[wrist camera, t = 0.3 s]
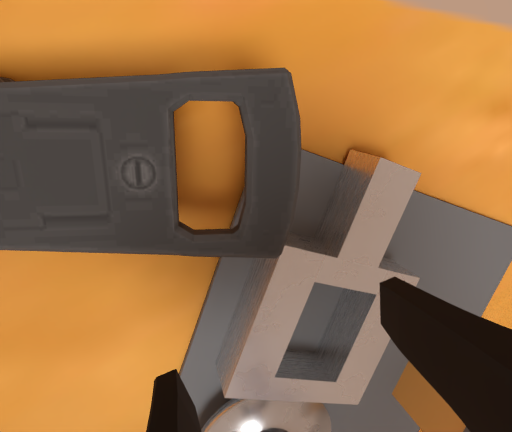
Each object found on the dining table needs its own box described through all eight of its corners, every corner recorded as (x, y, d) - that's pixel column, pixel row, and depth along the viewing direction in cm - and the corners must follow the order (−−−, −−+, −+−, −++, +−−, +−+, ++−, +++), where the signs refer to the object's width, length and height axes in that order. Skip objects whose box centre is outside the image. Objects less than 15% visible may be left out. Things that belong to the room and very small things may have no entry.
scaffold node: (290, 472, 29) (317, 541, 25) (172, 477, 26) (178, 559, 21) (426, 179, 24) (493, 199, 19) (301, 130, 20) (347, 140, 16)
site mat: (399, 456, 34) (402, 460, 34) (148, 461, 25) (148, 467, 25) (522, 230, 29) (527, 232, 29) (262, 135, 20) (264, 135, 20)
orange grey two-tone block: (417, 396, 31) (487, 473, 25) (391, 394, 30) (457, 474, 24) (443, 347, 30) (523, 415, 24) (416, 343, 29) (493, 413, 23)
